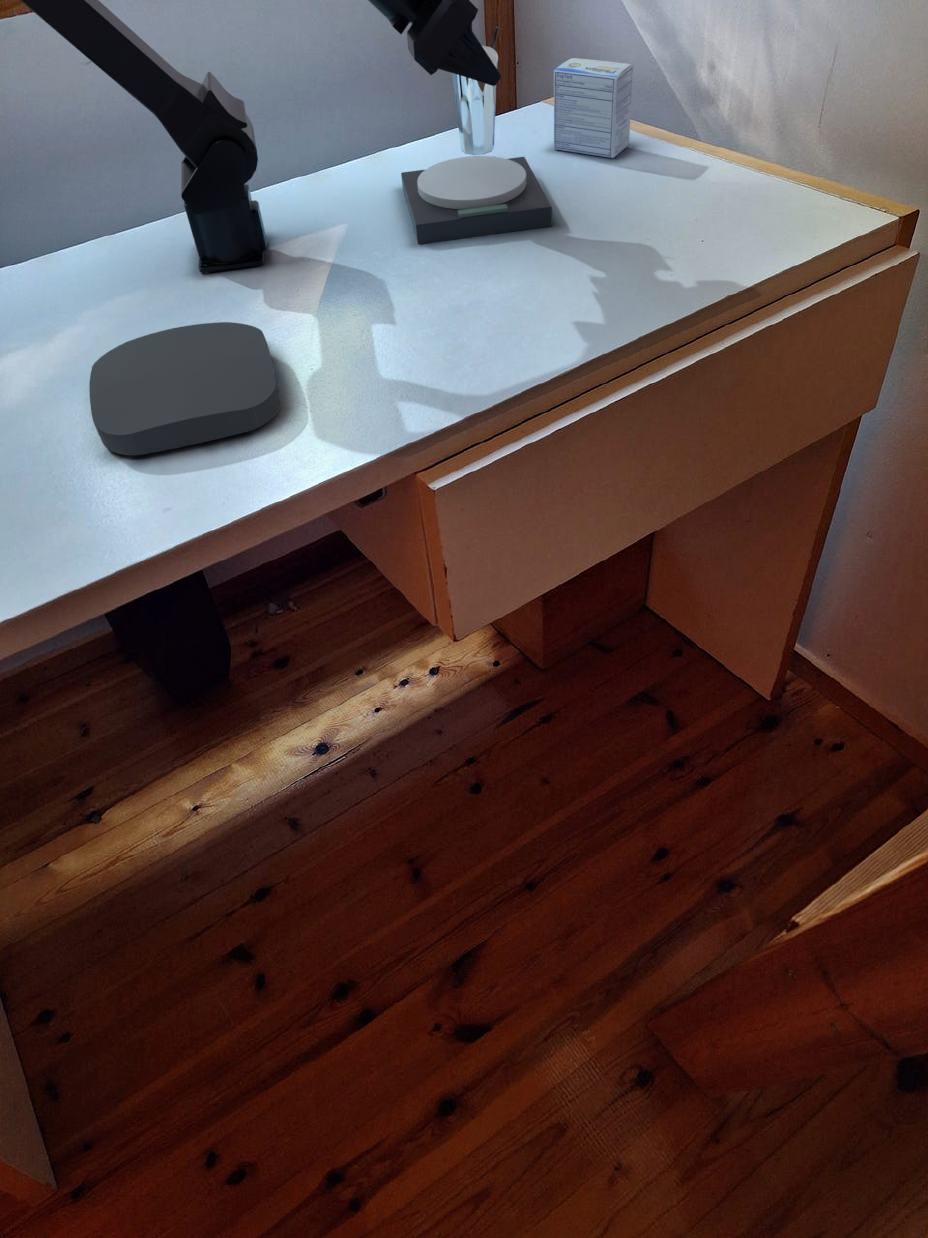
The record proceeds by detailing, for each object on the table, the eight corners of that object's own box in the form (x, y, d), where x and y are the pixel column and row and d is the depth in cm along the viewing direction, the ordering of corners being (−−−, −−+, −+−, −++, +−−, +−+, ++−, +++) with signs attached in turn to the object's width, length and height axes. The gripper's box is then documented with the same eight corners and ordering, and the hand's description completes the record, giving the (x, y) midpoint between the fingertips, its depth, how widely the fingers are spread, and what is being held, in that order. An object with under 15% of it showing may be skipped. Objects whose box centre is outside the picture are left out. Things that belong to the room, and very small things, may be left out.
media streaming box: (102, 469, 69) (88, 436, 67) (100, 372, 79) (88, 341, 77) (289, 427, 71) (281, 395, 69) (265, 338, 81) (257, 307, 79)
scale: (417, 244, 92) (414, 214, 90) (402, 190, 102) (399, 162, 100) (551, 226, 93) (552, 196, 91) (524, 174, 103) (524, 146, 100)
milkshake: (515, 146, 91) (514, 30, 84) (475, 161, 88) (470, 43, 81) (485, 136, 93) (481, 23, 86) (446, 150, 91) (438, 35, 84)
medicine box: (629, 146, 106) (635, 63, 100) (612, 160, 104) (617, 75, 97) (570, 137, 109) (571, 55, 103) (552, 150, 107) (552, 67, 101)
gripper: (444, -133, 67) (581, 22, 76) (403, -163, 80) (524, -27, 89) (354, 4, 72) (493, 134, 81) (329, -45, 85) (451, 73, 94)
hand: (492, 73), depth 86 cm, fingers closed on milkshake, 4 cm apart
